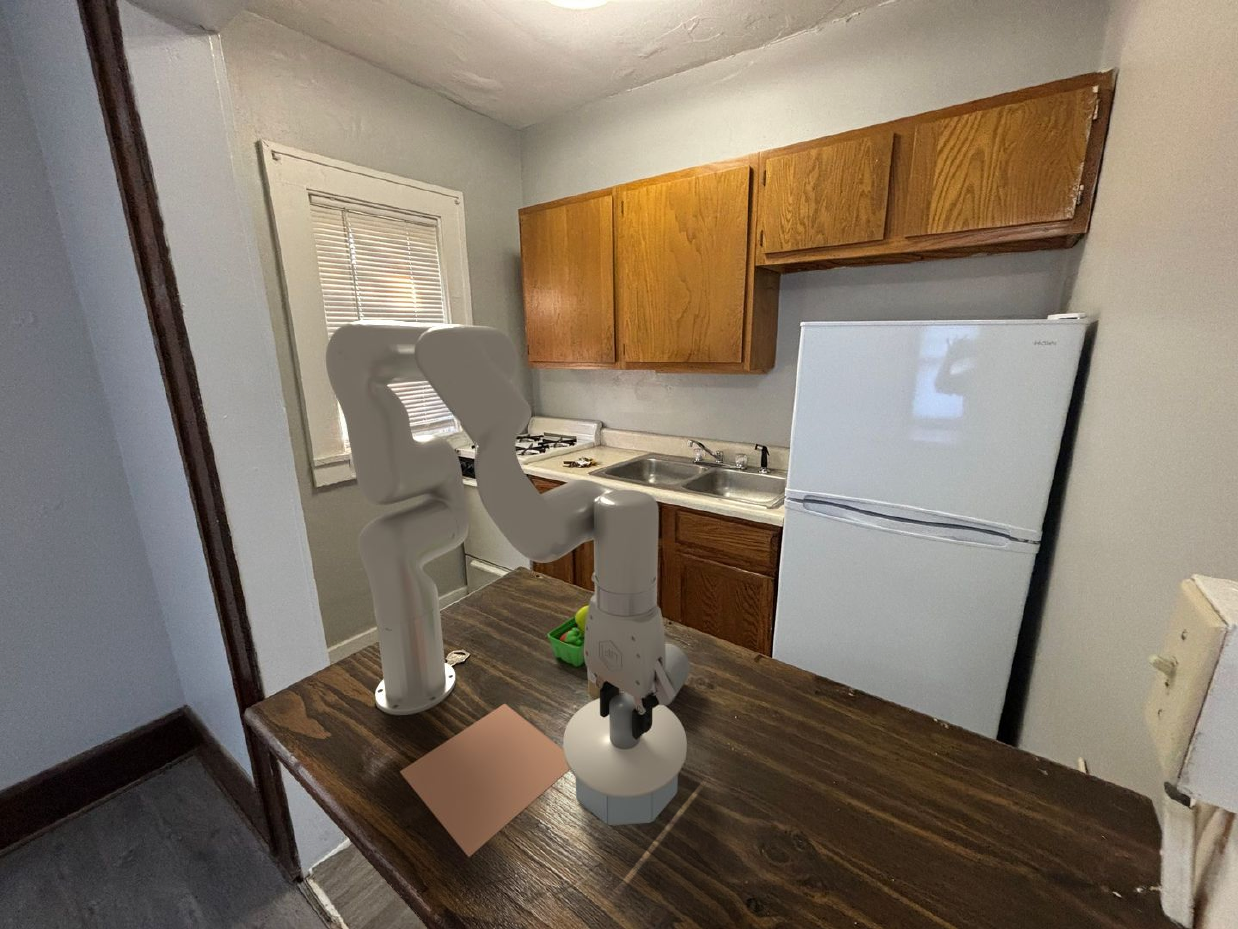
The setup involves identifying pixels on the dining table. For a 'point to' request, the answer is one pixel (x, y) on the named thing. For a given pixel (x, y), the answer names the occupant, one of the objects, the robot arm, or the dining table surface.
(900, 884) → the dining table surface
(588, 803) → the bowl
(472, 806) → the mat
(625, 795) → the lid
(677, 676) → the ceramic mug
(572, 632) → the fruit basket
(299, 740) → the dining table surface
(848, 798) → the dining table surface
